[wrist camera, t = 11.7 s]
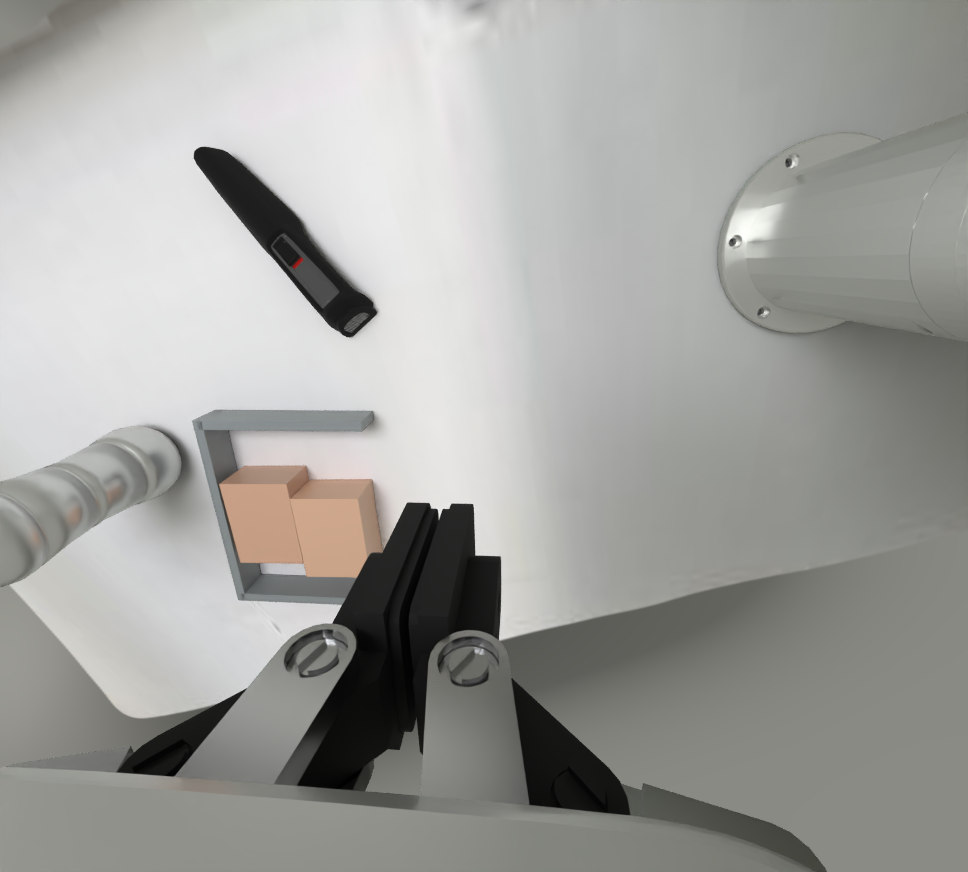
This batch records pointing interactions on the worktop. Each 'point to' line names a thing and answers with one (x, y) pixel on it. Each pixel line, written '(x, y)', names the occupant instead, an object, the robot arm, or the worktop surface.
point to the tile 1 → (264, 512)
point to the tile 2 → (336, 526)
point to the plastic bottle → (80, 495)
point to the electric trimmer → (285, 242)
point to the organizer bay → (223, 465)
